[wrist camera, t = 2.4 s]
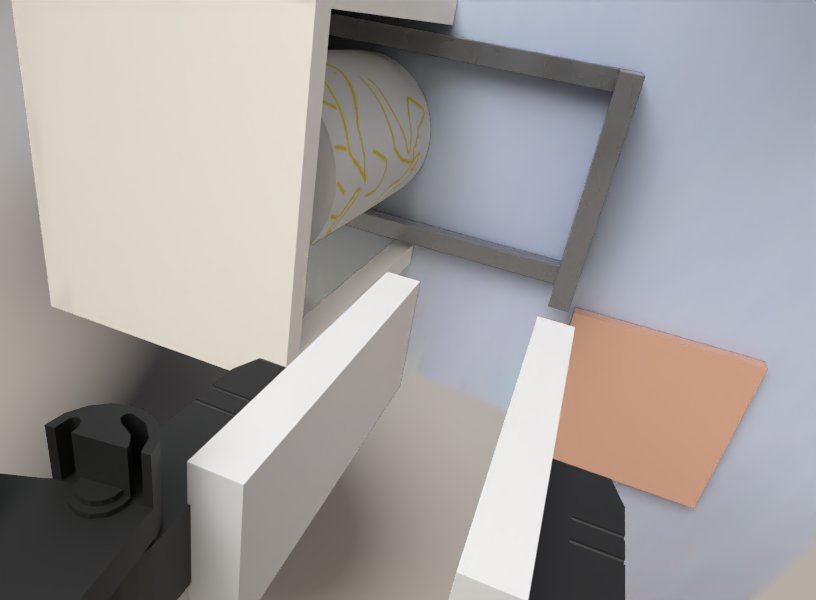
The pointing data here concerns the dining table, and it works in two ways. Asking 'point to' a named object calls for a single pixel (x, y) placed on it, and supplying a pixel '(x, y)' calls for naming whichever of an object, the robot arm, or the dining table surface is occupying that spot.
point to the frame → (530, 63)
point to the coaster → (650, 406)
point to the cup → (366, 136)
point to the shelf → (188, 166)
